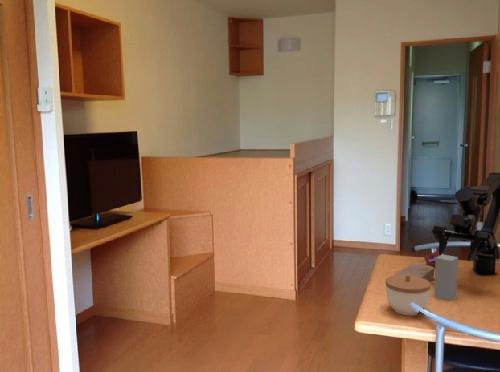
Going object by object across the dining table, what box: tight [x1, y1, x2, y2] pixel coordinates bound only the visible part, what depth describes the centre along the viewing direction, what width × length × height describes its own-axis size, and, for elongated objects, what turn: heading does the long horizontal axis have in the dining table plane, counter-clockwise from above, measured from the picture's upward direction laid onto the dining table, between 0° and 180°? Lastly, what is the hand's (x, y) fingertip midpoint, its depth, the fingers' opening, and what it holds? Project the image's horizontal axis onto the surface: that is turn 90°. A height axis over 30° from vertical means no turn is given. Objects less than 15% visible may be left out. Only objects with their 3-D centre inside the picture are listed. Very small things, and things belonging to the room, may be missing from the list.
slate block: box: [433, 253, 459, 302], centre depth 150 cm, size 5×5×13 cm
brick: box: [393, 263, 435, 282], centre depth 165 cm, size 17×8×5 cm, turn 137°
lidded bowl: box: [385, 275, 431, 316], centre depth 140 cm, size 13×13×11 cm
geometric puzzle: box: [422, 248, 445, 266], centre depth 183 cm, size 7×7×8 cm
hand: (453, 257), depth 153 cm, fingers open, 9 cm apart
